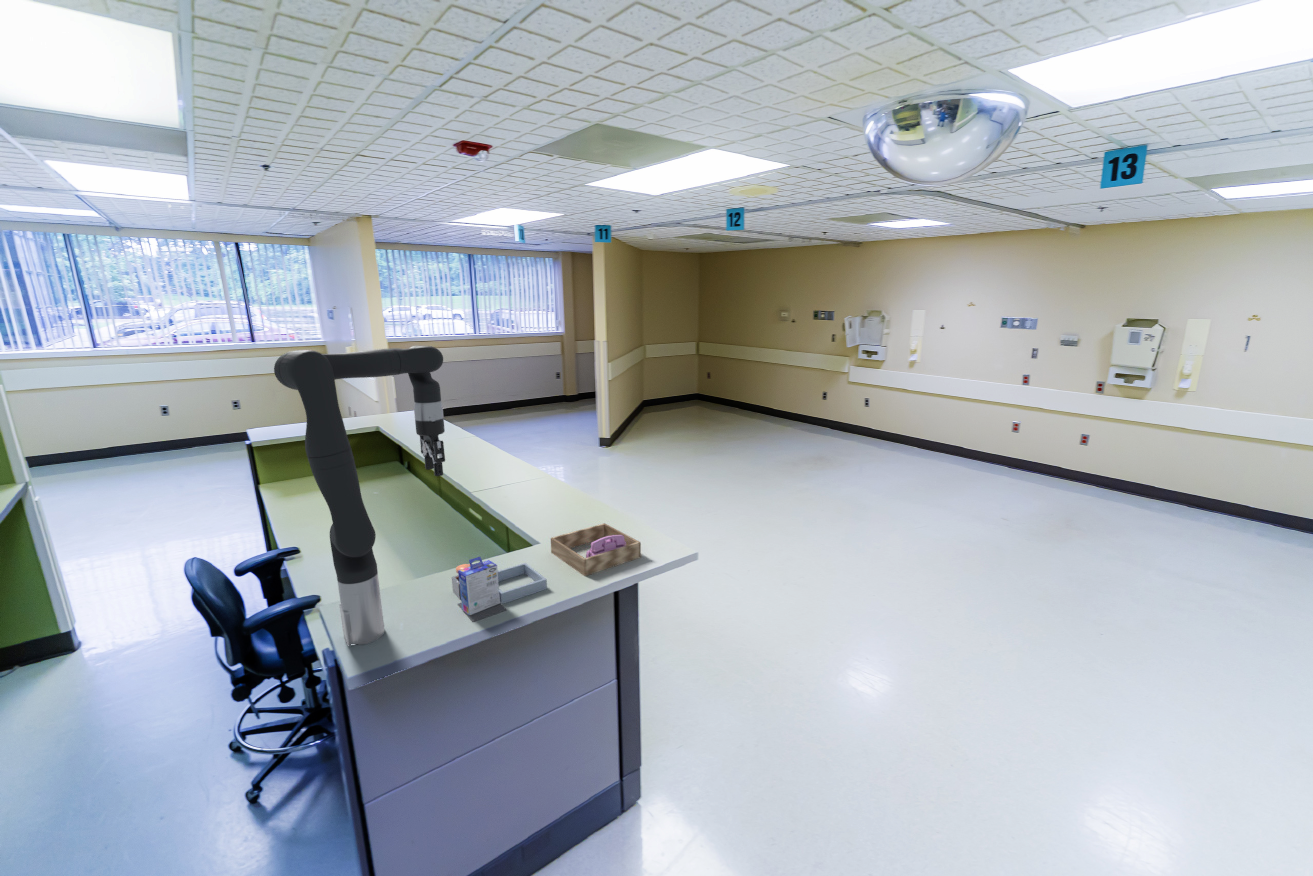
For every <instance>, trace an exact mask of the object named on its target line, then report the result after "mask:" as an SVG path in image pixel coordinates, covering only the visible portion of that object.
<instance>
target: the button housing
mask: <svg viewBox="0 0 1313 876" xmlns="http://www.w3.org/2000/svg"><path fill="white" fill-rule="evenodd" d="M451 585H452V586H451V587H452V593H454V595H455V596H456V597H457V599H458V600H461V593H460V584H459V575H454V576H451Z"/></svg>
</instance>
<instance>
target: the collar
mask: <svg viewBox="0 0 1313 876" xmlns="http://www.w3.org/2000/svg"><path fill="white" fill-rule="evenodd" d="M524 574H525V575H526V576H527V577H529V578H530V579H531V580H532V581H533V582H530V583H526V584H523V585H520V586H516V587H513V588H510V589H508V590H504V591H503V590H501V589H500V588H499V596H500V603H501V604H502V605H504V604H507V603H509V602H513V601H515V600H518V599H521V598H524V597H527V596H529V595H534V594H536V593H538V592H541V591H545V590H548V586H547V585H548V582H547V581H548V580H547V578H546V577H545V576H543V575H542V574H540V573H539V572H538V571H537V570H535V569H534V568H533V567H532V566H531V565H529V564H528V563H527V562H523V563H520V564H516V565H513V566H510V567H507V568H504V569H499V570H498V582H501V581H504V580H508V579H511V578H514V577H517V576H521V575H524Z"/></svg>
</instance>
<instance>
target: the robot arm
mask: <svg viewBox="0 0 1313 876" xmlns="http://www.w3.org/2000/svg"><path fill="white" fill-rule="evenodd" d="M443 363H444V355H443V353H442V352H441V351H440V350H439V349H438V348H437V347H434V346H430V345H412V346H411V347H408V348H399V347H393V348H391V347H390V348H379V349H378V348H377V349H369V350H361V351H351V352H343V353H340V352H339V353H321V352H318V351H316V350H311V349H309V350H307V349H301V350H300V349H297V350H290V351H287V352H285V353H284V354H283V353H282V354H281V355H280V356H279V357H278V358H277V359H276V361H275V363H274V366H273V372H274V375H275V376H274V377H276V380H277V381H278V382H279V383H280V384H281V385H282V386H284V387H286V388H289V389H290V390H291V389H292V390H294V391H295V390H296V391H298V393H299V397H300V398H301V401H302V404H303V407H304V411H305V415H306V417H305V418H306V424H305V425H306V427H305V434H304V435H305V436H304V448H305V453H306V458H307V460H308V464H309V467H310V469H311V473H312V476H313V478H314V481H315V483H316V485H317V487H318V489H319V491H320V493H321V495H322V497H323V499H324V500H325V502H326V504H327V506H328V507H327V508H328V509H329V510H328V511H329V512H330V516H331V520H332V523H331V526H330V528H329V540H330V541H329V543H330V548H331V549H330V550H331V555H332V562H333V567H334V570H335V574H336V580H337V588H338V595H339V601H340V603H339V612H340V619H341V626H342V633H343V637H345V638H344V640H346V641H345V642H347V643H346V645H347V644H348V645H351V644H364V645H368V644H370V643H373V642H375V641H377V640H379V639H380V638H382V636H383V635H384V634H385V622H384V615H383V605H382V597H381V587H380V581H379V580H380V579H379V571H378V563H377V560H376V558H375V555H374V551H373V547H374V545H375V542H376V531H375V528H374V526H373V524H372V522H371V519H370V516H369V514H368V512H367V509H366V506H365V503H364V500H363V497H362V493H361V486H360V480H359V476H358V471H357V467H356V464H355V463H356V462H355V457H354V455H353V454H354V453H353V451H352V447H351V444H350V441H349V437H348V434H347V430H346V427H345V422H344V420H343V417H342V412H341V409H340V404H339V399H338V393H337V387H336V381H335V380H342V379H355V378H356V379H359V378H361V379H363V378H379V377H391V376H398V375H403V374H407V375H408V377H409V380H410V384H411V385H412V391H413V402H414V403H413V404H414V406H413V412H414V413H413V414H414V421H415V422H414V423H415V432H416V435H417V436H419V443H420V454H421V455H422V457H423V458H424V469H425V470H427V471H428V470H433V473H434V476H435V477H442V476H443V475H444V469H443V468H444V467H443V463H445V462H446V456H445V445H444V441H443V440H440V438H439V435H442V434H444V433H445V420H444V419H445V418H444V409H443V403H442V396H441V386H440V383H439V381H437V380H435V379H434V378H433V377H432V374H431V373H433V372H435V371H438V370H439V369H440V368H441V367H442V366H443ZM348 645H347V646H348Z"/></svg>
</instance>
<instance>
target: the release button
mask: <svg viewBox="0 0 1313 876" xmlns="http://www.w3.org/2000/svg"><path fill="white" fill-rule="evenodd" d="M467 567H470V563H463V564H459V565H458V566H456V567H455V572H456V574H458V571H459V570H462V569H465V568H467Z"/></svg>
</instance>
